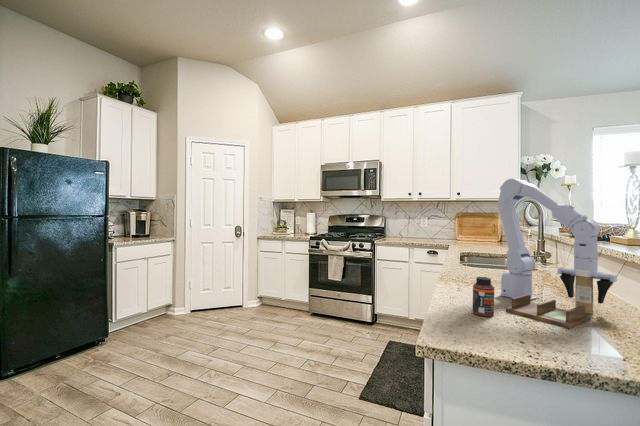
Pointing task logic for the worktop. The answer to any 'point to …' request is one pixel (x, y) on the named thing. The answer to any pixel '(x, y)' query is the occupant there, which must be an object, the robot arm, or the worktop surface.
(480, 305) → the supplement bottle
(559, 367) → the worktop surface
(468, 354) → the worktop surface
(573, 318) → the slot rack
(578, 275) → the sprinkles bottle
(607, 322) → the worktop surface
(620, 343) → the worktop surface
